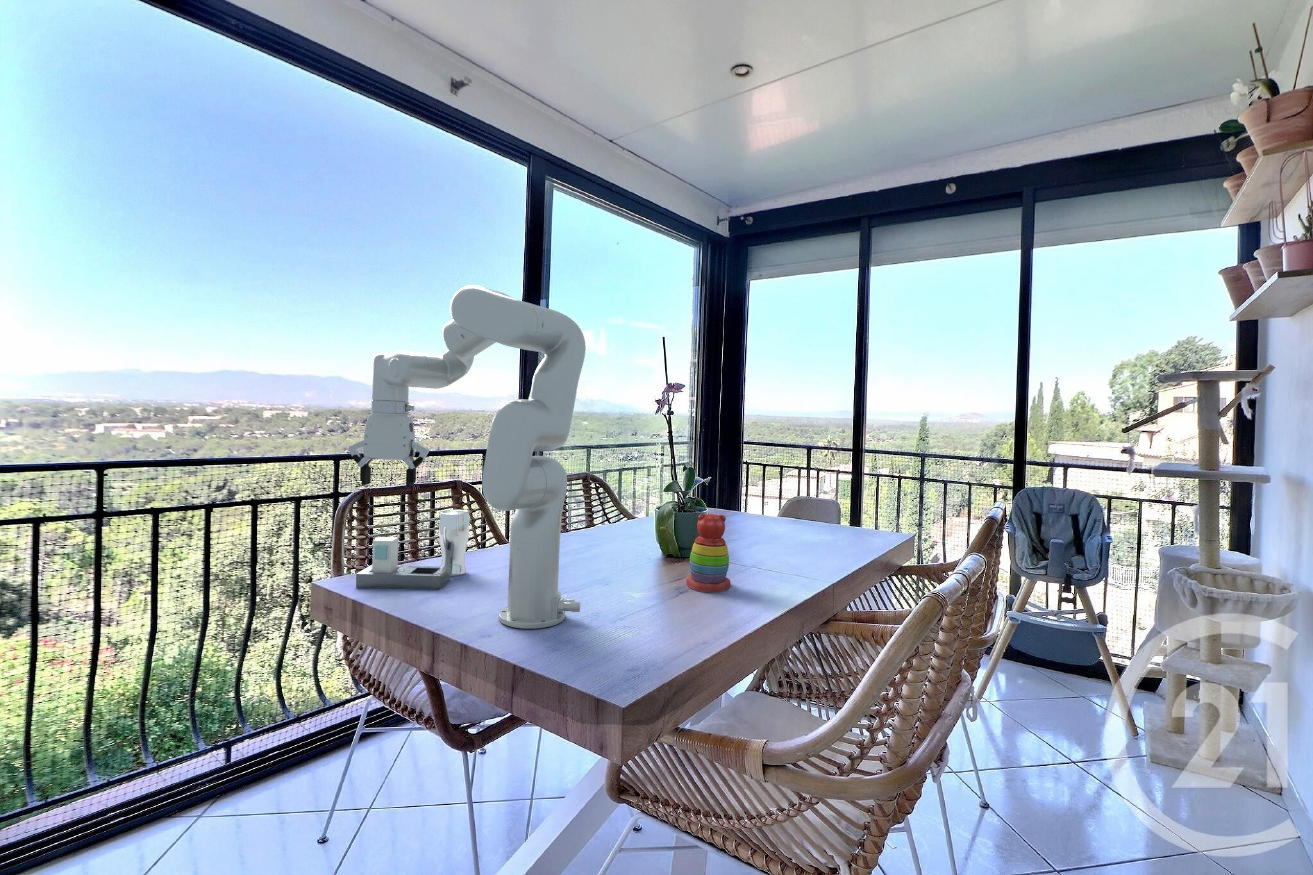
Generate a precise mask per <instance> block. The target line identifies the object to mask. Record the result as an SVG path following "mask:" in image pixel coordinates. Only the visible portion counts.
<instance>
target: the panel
mask: <svg viewBox="0 0 1313 875" xmlns="http://www.w3.org/2000/svg"><path fill="white" fill-rule="evenodd" d="M450 580H451V576H450V567H441V566H431V565H430V566H426V565H425V566H424V565H422V566H421V565H398V569H397V570H396V571H394V572H393V573H373V572H372V564H371V565H369V566H367V567H366V568H364V569H362V570H360V571H358V572H357V573H356V574H355V588H365V589H366V588H367V589H369V588H370V589H371V588H373V589H398V590H399V589H403V590H404V589H405V590H407V589H409V590H436V591H437V590H441V589H442V588H443V587H444V586H445V585H446V584H447V583H448V582H449V581H450Z"/></svg>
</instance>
